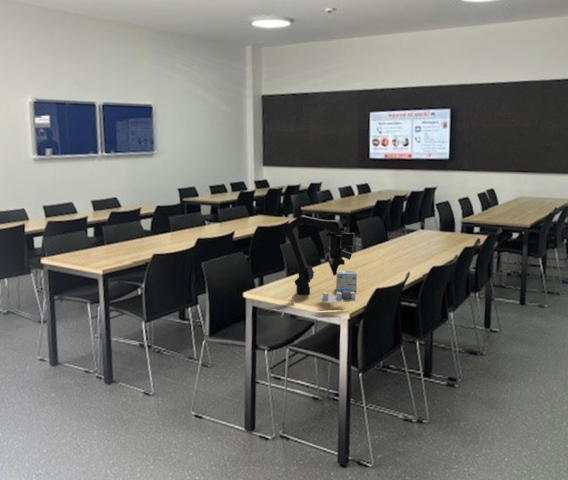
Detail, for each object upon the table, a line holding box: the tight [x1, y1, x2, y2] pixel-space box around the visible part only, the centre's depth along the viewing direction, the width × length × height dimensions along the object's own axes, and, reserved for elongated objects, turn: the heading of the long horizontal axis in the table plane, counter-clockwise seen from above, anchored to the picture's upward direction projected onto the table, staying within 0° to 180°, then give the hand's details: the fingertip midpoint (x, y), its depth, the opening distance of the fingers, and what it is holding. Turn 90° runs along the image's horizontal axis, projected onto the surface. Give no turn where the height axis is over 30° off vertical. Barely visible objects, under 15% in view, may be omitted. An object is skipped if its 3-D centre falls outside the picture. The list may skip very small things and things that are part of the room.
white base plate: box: [319, 288, 359, 303], centre depth 305 cm, size 18×12×5 cm, turn 97°
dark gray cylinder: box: [342, 290, 351, 300], centre depth 305 cm, size 6×4×4 cm, turn 6°
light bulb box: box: [335, 270, 358, 292], centre depth 324 cm, size 11×7×11 cm, turn 92°
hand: (334, 275), depth 306 cm, fingers closed
